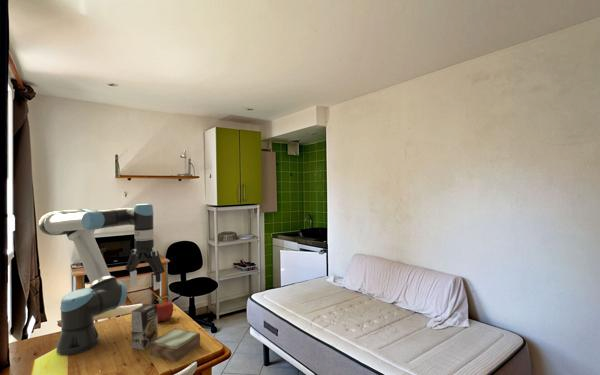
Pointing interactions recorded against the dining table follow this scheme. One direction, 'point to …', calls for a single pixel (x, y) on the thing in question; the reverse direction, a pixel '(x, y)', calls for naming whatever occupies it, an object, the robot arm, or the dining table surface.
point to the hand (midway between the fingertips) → (145, 287)
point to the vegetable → (164, 310)
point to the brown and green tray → (174, 344)
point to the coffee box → (144, 326)
